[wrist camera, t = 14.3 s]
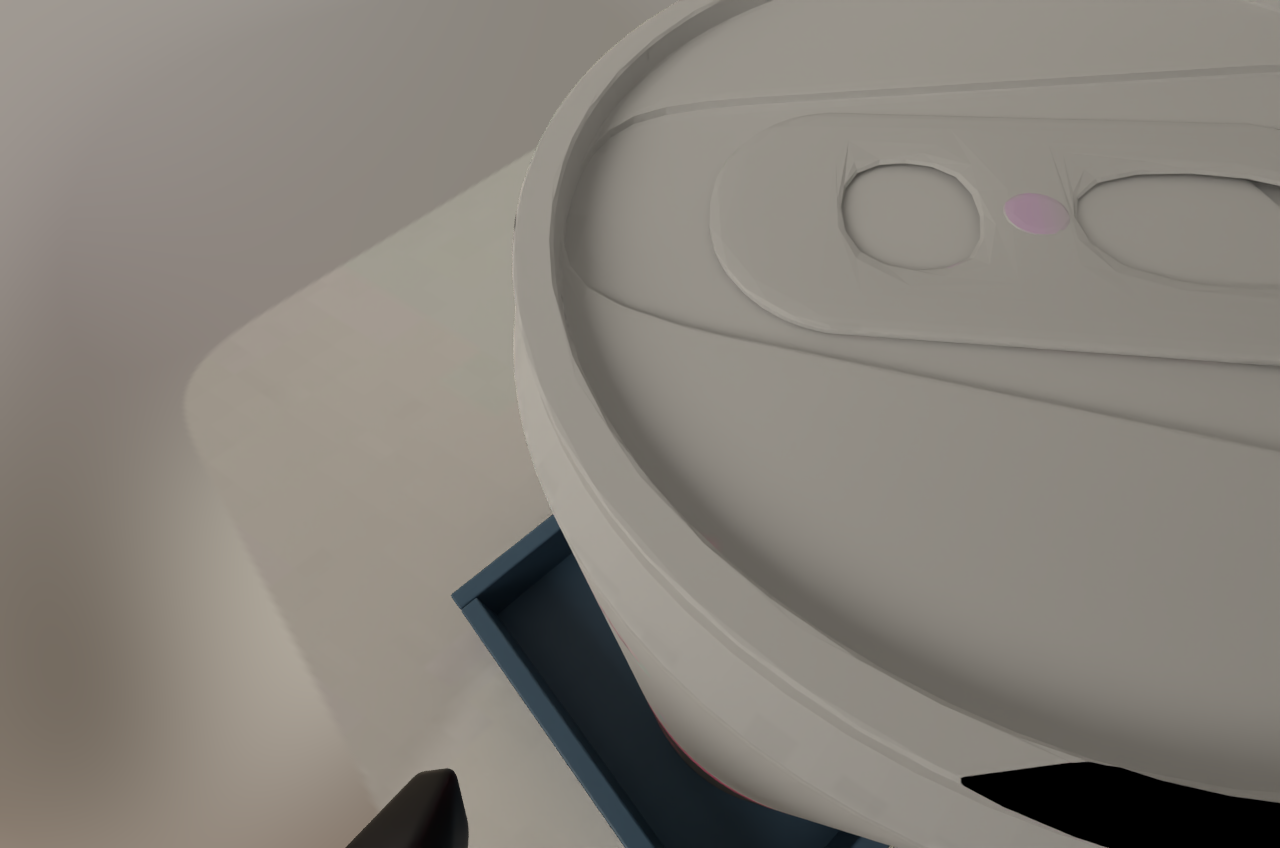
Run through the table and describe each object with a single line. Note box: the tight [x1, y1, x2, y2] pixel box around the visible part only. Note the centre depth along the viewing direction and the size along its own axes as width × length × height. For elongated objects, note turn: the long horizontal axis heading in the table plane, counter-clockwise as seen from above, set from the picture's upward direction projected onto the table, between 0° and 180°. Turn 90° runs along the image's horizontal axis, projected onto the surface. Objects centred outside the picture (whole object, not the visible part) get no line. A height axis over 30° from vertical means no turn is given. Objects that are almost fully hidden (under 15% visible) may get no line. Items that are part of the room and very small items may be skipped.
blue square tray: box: [451, 515, 889, 848], centre depth 16 cm, size 10×10×2 cm
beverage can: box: [512, 0, 1280, 848], centre depth 10 cm, size 6×6×15 cm
